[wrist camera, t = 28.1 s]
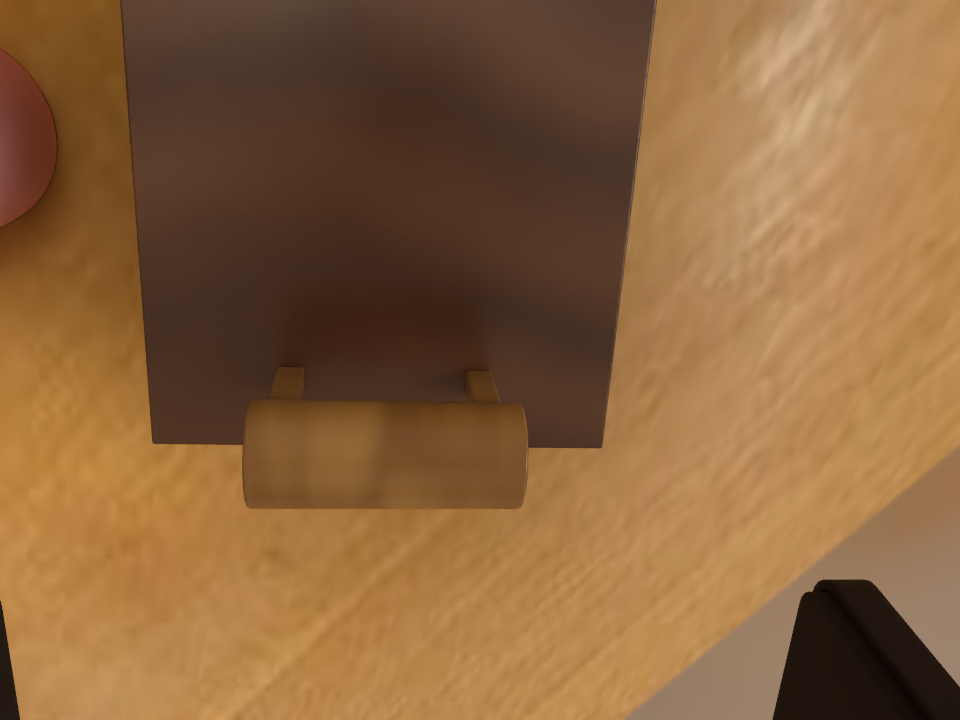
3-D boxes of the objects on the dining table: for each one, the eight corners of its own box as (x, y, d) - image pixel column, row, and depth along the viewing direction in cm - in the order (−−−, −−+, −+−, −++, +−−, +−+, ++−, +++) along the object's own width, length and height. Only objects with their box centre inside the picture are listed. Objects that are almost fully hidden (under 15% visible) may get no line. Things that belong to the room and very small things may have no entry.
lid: (596, 437, 26) (659, 559, 20) (158, 432, 25) (89, 563, 19) (683, -293, 20) (811, -424, 14) (102, -359, 19) (-27, -535, 13)
